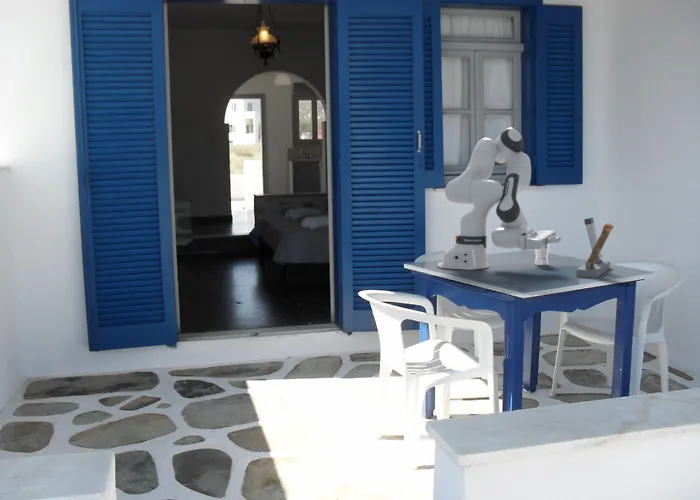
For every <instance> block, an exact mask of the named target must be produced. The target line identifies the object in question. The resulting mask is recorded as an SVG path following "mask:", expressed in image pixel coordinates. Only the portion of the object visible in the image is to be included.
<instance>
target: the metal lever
mask: <svg viewBox="0 0 700 500" xmlns="http://www.w3.org/2000/svg"><path fill="white" fill-rule="evenodd" d="M583 221H584V225H585V228H586V232H587V235H588V240H589V243H590V244H589V245H590V248H591V252H592V251H593V249H594V247H595V245H596V243H597V241H598V239H599V238H598V236H597V230H596V227H595V221H594V217H589V218H584V219H583ZM601 255H602V253H601V252H600V254H599V256H598V257H599V262H600V261H601V260H602V261H603V255H602V256H601Z"/></svg>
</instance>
